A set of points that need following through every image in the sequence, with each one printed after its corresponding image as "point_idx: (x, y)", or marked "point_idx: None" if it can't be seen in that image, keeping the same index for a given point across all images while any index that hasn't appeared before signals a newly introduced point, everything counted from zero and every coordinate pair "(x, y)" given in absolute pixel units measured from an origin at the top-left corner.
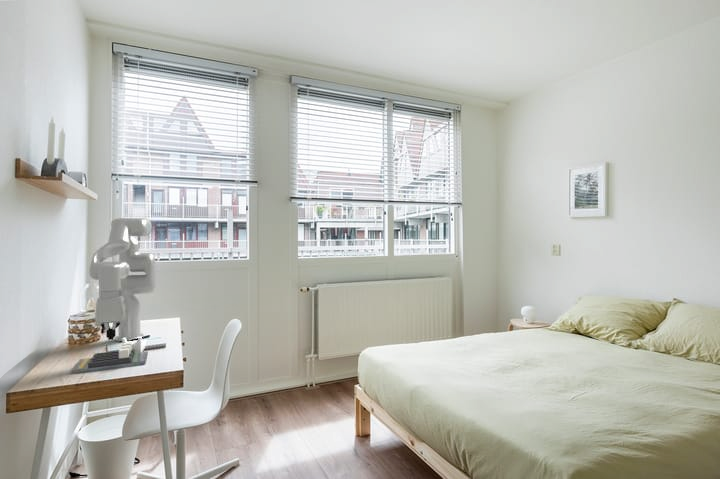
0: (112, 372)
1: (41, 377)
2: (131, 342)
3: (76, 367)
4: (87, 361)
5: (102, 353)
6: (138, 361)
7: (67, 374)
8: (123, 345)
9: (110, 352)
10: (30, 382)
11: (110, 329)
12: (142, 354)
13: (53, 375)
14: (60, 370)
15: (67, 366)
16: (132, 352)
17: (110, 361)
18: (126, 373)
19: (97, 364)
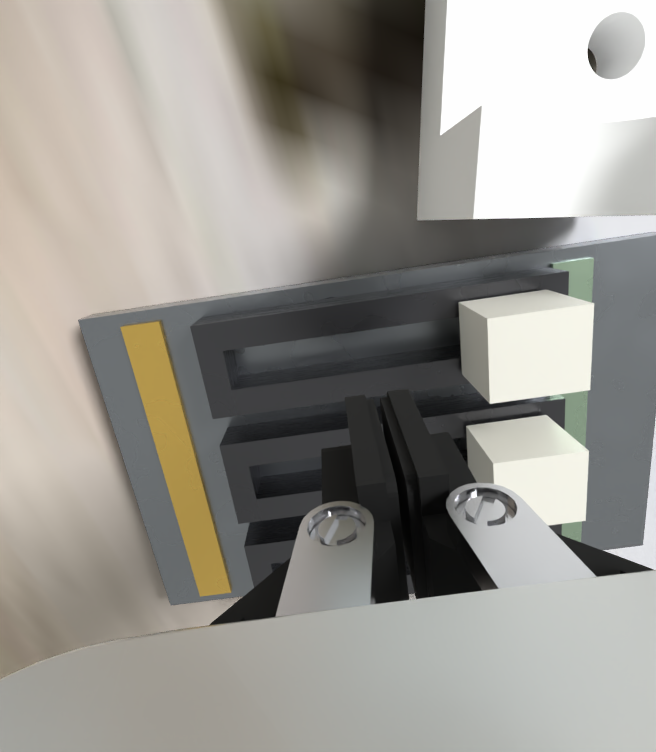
0: None
1: (15, 604)
2: (591, 309)
3: (171, 551)
4: (187, 428)
5: (270, 343)
6: (594, 536)
7: (157, 592)
8: (502, 398)
9: (342, 332)
10: (10, 669)
11: (397, 540)
12: (622, 338)
13: (71, 587)
14: (52, 496)
15: (45, 408)
16: (561, 407)
17: (411, 586)
18: None
19: None
